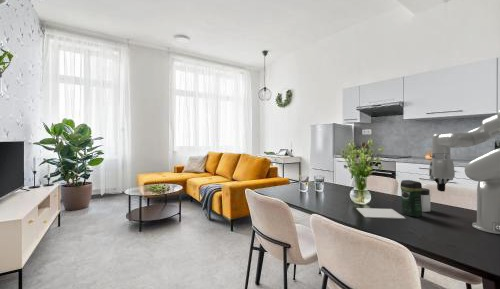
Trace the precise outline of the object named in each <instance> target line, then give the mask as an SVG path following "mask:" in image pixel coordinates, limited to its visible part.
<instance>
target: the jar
mask: <svg viewBox="0 0 500 289" xmlns="http://www.w3.org/2000/svg"><path fill="white" fill-rule="evenodd" d="M430 192H431V191H430V189H429V188H425V187H422V191H421V205H422V213H426V212H431V193H430Z"/></svg>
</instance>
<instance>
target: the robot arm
mask: <svg viewBox="0 0 500 289" xmlns="http://www.w3.org/2000/svg"><path fill="white" fill-rule="evenodd" d="M499 135H500V109H498V111H497V113H496V114H493V115H491V116H488V117H486V118H484V119H483V120H481V125H480V126H478V127H477V128H474V129H471V130H469V131H466V132H450V133H448V132H447V133H434V134H433V135H432V138H431V139H432V140H431V141H432V145H431V146H432V148H431V149H432V152H431V154H429V157H430V158H431V159H430V162H429V168H428V169H429V170H428V174H429V180H430V181H433V182H435V183H436V189H437V191H439V192H441V193H443V192H445V191H446V184H448V182H449V181H453V180H454V178H455V177H456V174H455V165H454V161H453V159H451V149H452V148H453V149H457V148H471V147H473V146H476V145H477V146H478V145H479V144H482V143H485V142H487V141H490V140H491V139H493V138H495V137H497V136H499ZM464 174H465V176H466V177H467V178H469V179H470V180H471V181H473V182H474V181H475V182H477V188H476V221H475V222H472V227H473V228H475V229H477V230H478V231H481V232H486V233H491V234H497V235H500V147H498V148H495V149H493V150H491V151H489V152H487V153H485V154H482V155H480V156H478V157H476V158H475V159H472V160H471V161H469V162H468V163H466V165H465V167H464Z"/></svg>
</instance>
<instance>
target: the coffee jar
mask: <svg viewBox="0 0 500 289" xmlns="http://www.w3.org/2000/svg"><path fill="white" fill-rule="evenodd" d="M422 188H423V185H422V183H421V182H420V181H417V180H416V181H415V180H412V179H411V180H410V179H402V180H401V182H400V191H401V201H400V202H401V204H400V213H401V214H403V215H407V216H410V217H416V218H420V217H422V215H423V212H422V205H421V191H422Z"/></svg>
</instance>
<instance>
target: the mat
mask: <svg viewBox="0 0 500 289" xmlns="http://www.w3.org/2000/svg"><path fill="white" fill-rule="evenodd" d="M355 210H357V211H358V212H359V213H360V214H361V215H362V216H363V217H364V218H367V219H368V218H370V219H395V220H397V219H399V220H406V219H407V218H406V217H405V216H403V215H402V214H400V213H399V212H398V211H396V210H394V209H393V208H375V207H374V208H371V207H370V208H369V207H368V208H367V207H356V209H355Z"/></svg>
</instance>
